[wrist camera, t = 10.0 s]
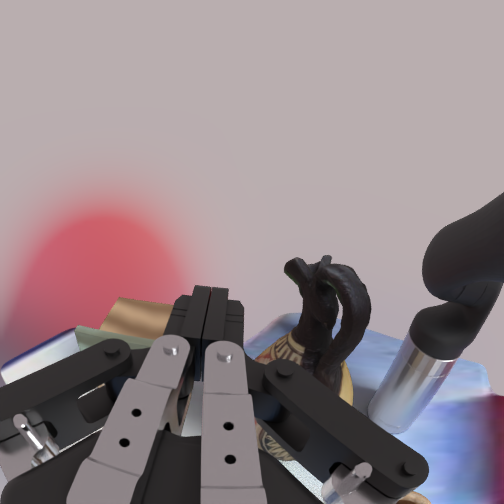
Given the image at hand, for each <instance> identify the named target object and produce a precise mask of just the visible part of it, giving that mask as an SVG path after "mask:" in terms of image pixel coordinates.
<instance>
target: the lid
mask: <svg viewBox="0 0 504 504" xmlns="http://www.w3.org/2000/svg"><path fill="white" fill-rule="evenodd" d="M173 306H174V305H170V304H162V303H155V302H148V301H141V300H134V299H127V298H120V297H119V298H118V300H117V302H116V303H115V304H114V306H113V308H112V309H111V311H110V312H109V314H108V315H107V317H106V319H105V320H104V322H103V323H102V325H101V327H100V328H99V330H98V329H93V328H88V327H84V326H79V325H78V326H77V328H76V329H75V330H74V332H75V335H76V339H77V342H78V345H79V348H80V351H82V350H84V349H86V348H88V347H90V346H93V345H95V344H97V343H99V342H101V341H103V340H106V339H111V338H116V339H121V340H123V341H125V342H127V343H128V345H129V346H130V349H144V348H149V347H151V346H152V344H153V342H154V341H155V340H156V339H157V338H159V337H161V336H163V333H164V330H165V328H166V325H167V322H168V319H169V317H170V314H171V311H172V309H173Z"/></svg>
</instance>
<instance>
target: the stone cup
mask: <svg viewBox="0 0 504 504" xmlns="http://www.w3.org/2000/svg"><path fill="white" fill-rule="evenodd" d="M396 504H431V502H430V501H429V500H428V499H427V498H426V497H424V496H423V495H421V494H419V493H417V492H414V491H412V492H411V493H409V494H408V495H406V496H405V497H403V498H402V499H401V500H399V501H398V502H397V503H396Z"/></svg>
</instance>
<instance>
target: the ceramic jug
mask: <svg viewBox="0 0 504 504" xmlns="http://www.w3.org/2000/svg"><path fill="white" fill-rule="evenodd" d="M331 259H332V257H331V256H330V255H325V256H323V258H322V259H321V261H319V262H318V263H315V264H308V265H307V264H306V263H305V262H304V260H303V259H300V258H298V257H296V258H294V259H292V260H290V261H288V262H287V263H286V264H285V267H284V273H285V274H286V275H287V276H289V278H290V279H292V280H293V281H294V282H295V283H296V284H297V285H298V287H299V291H300V294H301V296H302V298H303V309H302V314H301V317H300V320H299V324H298V325H297V326H296V327H294V328H293V330H292V331H291V332H289V333H288V334H286V335H285V336H283V337H281V338H279V339H278V340H277V341H276V342H275V343H273V344H272V345H271V346H270V347H268V348H267V349H266V350H265V351H263V352H262V353H261V354H260V355H259V356H258V357H257V358H255V360H254V361H257V362H259V363H263V364H266V365H267V364H268V363H269V362H271V361H273V360H276V359H288V360H291V361H294V362H296V363H297V364H299V365H300V366H301V367H302V368H304V369H305V370H306V371H307V372H309V373H310V374H311V375H312V376H314V377H315V378H316V379H317V380H319V381H320V382H321V383H322V384H324V385H325V386H326V387H328V388H329V389H330V390H331V391H333V392H334V393H335V394H337V395H338V396H339V397H341V398H342V399H343V400H345V401H346V402H347V403H349V404H350V405H351V406H352V404H353V386H352V380H351V376H350V373H349V369H348V367H347V365H346V362H345V359H346V358H347V357H348V356H349V355H350V353H351V352H352V351H353V350H354V349H355V347H356V346H357V345H358V344H359V343H360V341H361V340H362V338H363V335H364V332H365V329H366V327H367V326H368V324H369V320H370V314H371V302H370V297H369V295H368V293H367V289H366V286H365V284H363V283H362V282H361V281H360V279H359V277H358V276H357V274H356V273H355V271H354V269H352V268H351V267H349V266H346V265H341V264H330V263H331ZM336 294H337V297H338V299H339V301H340V303H341V304H342V306H343V316H342V320H341V329H340V331H339V332H338V333H337V334H336V336H335V338H334V340H333V338H332V329H333V327H334V325H335V323H336V319H337V315H338V311H339V305H338V300H337V297H336ZM254 420H255V417H254ZM255 428H256V437H257V445H258V448H259V449H261V450H263V451H265V452H267V453H269V454H270V455H272V456H273V457H275V458H276V459H279V460H283V461H292V460H295V459H294V458H293V457H292V456H291V455H290V454H289V453H288V452H287V451H285V450H284V449H283V448H282V447H281V446H280V445H279V444H278V443H277V442H276V441H275V440H274V439H273V438H272V437H271V436H270V435H269V434H268V433H267V432H266V431H265V430H264V429H263V428H262V427H261V426H260V425H259V424H258V423H257V422H256V420H255Z"/></svg>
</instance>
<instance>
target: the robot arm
mask: <svg viewBox="0 0 504 504" xmlns="http://www.w3.org/2000/svg"><path fill="white" fill-rule="evenodd" d="M422 275H423V281H424V284H425V286H426V288H427V289H428V291H429V292H430V293H431V294H432V295H433V296H435V297H438V298H439V299H441V300H445V301H449V302H447V303H444V304H442V305H438V306H433V307H428V308H425V309H422V310H421V311H420V312H418V313H417V314H416V316H415V318H414V320H413V322H412V324H411V326H410V329H409V331H408V333H407V335H406V337H405V339H404V341H403V343H402V346H401V348H400V350H399V352H398V353H397V355H396V357H395V359H394V361H393V363H392V365H391V367H390V369H389V370H388V372H387V374H386V376H385V378H384V379H383V381H382V383H381V385H380V386H379V388H378V390H377V391H376V393H375V395H374V396H373V398H372V400H371V401H370V403H369V405H368V416H369V418H367V417H366V416H365V415H363V414H362V413H361V412H359V411H358V410H357V409H355V408H354V407H353V406H351V405H350V404H349V403H347V402H346V401H345V400H343V399H342V398H341V397H339V396H338V395H337V394H335V393H334V392H333V391H331V390H330V389H329V388H328V387H326V386H325V385H324V384H322V383H321V382H320V381H319V380H317V379H316V378H315V377H314V376H312V375H311V374H310V373H309V372H307V371H306V370H305V369H304V368H302V367H301V366H300V365H299V364H297V363H296V362H294V361H291V360H288V359H276V360H273V361H271V362H269V363H268V364H267V365H266V364H263V363H259V362H257V361H254V360H253V359H251V358H250V357H249V356H247V354H246V353H245V351H244V348H243V333H244V307H243V305H242V304H241V303H240V301H236V300H228V291H229V289H228V288H218V287H212V289H211V287H208V286H199V285H195V287H194V290H193V294H192V296H189V295H182V296H180V297H179V298H178V299H177V300H176V301H175V303H174V306H173V309H172V311H171V314H170V317H169V319H168V322H167V325H166V328H165V330H164V333H163V336H161V337H159V338H157V339H156V340H155V341H154V342H153V344H152V346H151V347H149V348H144V349H130V346H129V345H128V343H127V342H125V341H123V340H121V339H116V338H111V339H106V340H103V341H101V342H99V343H97V344H95V345H93V346H90V347H88V348H86V349H84V350H82V351H80V352H78V353H75V354H73V355H71V356H69V357H67V358H65V359H62V360H60V361H58V362H56V363H54V364H52V365H49V366H47V367H45V368H43V369H41V370H38V371H36V372H34V373H32V374H30V375H27V376H25V377H23V378H21V379H19V380H16V381H14V382H12V383H10V384H7V385H5V386H3V387H1V388H0V466H1V468H2V470H3V472H4V475H5V477H6V479H7V481H8V483H7V485H6V486H5V487H4V489H3V491H2V495H1V500H0V502H1V503H0V504H324V503H322V502H321V501H320V500H319V499H318V498H317V497H316V496H315V495H314V494H312V493H311V492H310V491H309V490H308V489H307V488H306V487H305V486H304V485H303V484H302V483H301V482H300V481H299V480H298V479H297V478H296V477H294V476H293V475H292V474H291V473H290V472H289V471H288V470H287V469H286V468H285V467H284V466H283V465H282V464H281V463H280V462H279V461H278V460H277V459H276V458H275V457H273V456H272V455H270V454H269V453H267V452H265V451H263V450H261V449H259V448H258V445H257V437H256V428H255V420H256V422H257V423H258V424H259V425H260V426H261V427H262V428H263V429H264V430H265V431H266V432H267V433H268V434H269V435H270V436H271V437H272V438H273V439H274V440H275V441H276V442H277V443H278V444H279V445H280V446H281V447H282V448H283V449H284V450H285V451H287V452H288V453H289V454H290V455H291V456H292V457H293V458H294V459H295V460H296V461H297V462H299V463H300V464H301V465H302V466H303V467H304V468H305V469H306V470H308V471H309V472H310V473H311V474H312V475H313V476H315V477H316V478H317V479H318V480H319V481H321V482H322V483H323V486H322V489H321V495H322V498H323V500H324V501H325V502H326V503H327V504H396V503H397V502H398V501H399V500H401V499H402V498H403V497H405V496H406V495H408V494H409V493H411V492H412V491H413V490H415V489H416V488H417V487H419V486H420V485H421V484H423V483H424V482H425V480H426V479H427V477H428V473H429V466H428V463H427V461H426V460H425V458H424V457H423V456H422V455H420V454H419V453H417V452H416V451H414V450H413V449H411V448H410V447H408V446H407V445H406V444H404V443H403V442H401V441H400V440H398V439H397V438H395V437H394V436H393V435H391V434H397V433H402V432H404V431H406V430H407V429H408V428H409V427H410V426H411V425H412V424H413V422H414V421H415V420H416V419H417V417H418V416H419V415H420V414H421V412H422V411H423V410H424V409H425V407H426V406H427V405H428V403H429V402H430V400H431V399H432V398H433V396H434V395H435V394H436V392H437V391H438V389H439V388H440V386H441V385H442V383H443V382H444V380H445V379H446V377H447V376H448V374H449V373H450V371H451V370H452V368H453V366H454V365H455V363H456V362H457V360H458V358H459V356H460V355H461V353H462V352H463V350H464V349H465V348H466V347H467V346H468V345H470V344H471V343H472V342H473V340H474V339H475V337H476V336H477V334H478V332H479V331H480V329H481V327H482V325H483V324H484V322H485V320H486V319H487V317H488V315H489V313H490V311H491V310H492V308H493V306H494V304H495V302H496V300H497V298H498V296H499V294H500V291H501V288H502V286H503V283H504V192H503V193H502V194H501V195H499V196H498V197H496V198H495V199H494V200H492V201H491V202H489V203H488V204H487V205H485V206H484V207H482V208H481V209H479V210H477V211H476V212H474V213H472V214H470V215H468V216H466V217H464V218H462V219H460V220H457V221H455V222H453V223H451V224H449V225H447V226H445V227H444V228H443V229H441V230H440V231H439V232H438V233H437V234H436V235H435V237H434V238H433V239H432V241H431V242H430V244H429V246H428V248H427V250H426V253H425V256H424V259H423V266H422ZM211 290H212V292H211ZM201 373H202V382H204V389H203V404H202V436H191V437H182V436H181V433H182V428H183V425H184V421H185V417H186V414H187V410H188V406H189V403H190V399H191V391H192V389H193V383H194V381H200V379H201ZM103 383H104V386H102V387H100V388H98V389H96V390H94V391H92V392H90V393H88V394H87V395H85V396H83V397H81V398H79V397H80V396H81V395H83V394H84V393H86V392H88V391H90V390H92V389H94V388H96V387H98V386H100V385H102V384H103ZM78 398H79V399H78ZM254 417H255V420H254ZM103 426H104V427H103ZM102 427H103V429H102V430H100V431H98V432H95V433H93V432H94V431H96V430H98V429H100V428H102ZM91 433H93V434H92V435H90V436H88V437H87V438H85V439H83V440H82V441H80V442H78V443H76V444H75V445H73V446H71V447H70V448H68V449H66V450H64V451H63V452H61V453H59V450H61V449H63V448H65V447H67V446H69V445H71V444H73V443H74V442H76V441H78V440H80V439H82V438H84V437H86V436H87V435H89V434H91ZM390 433H391V434H390Z"/></svg>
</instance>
